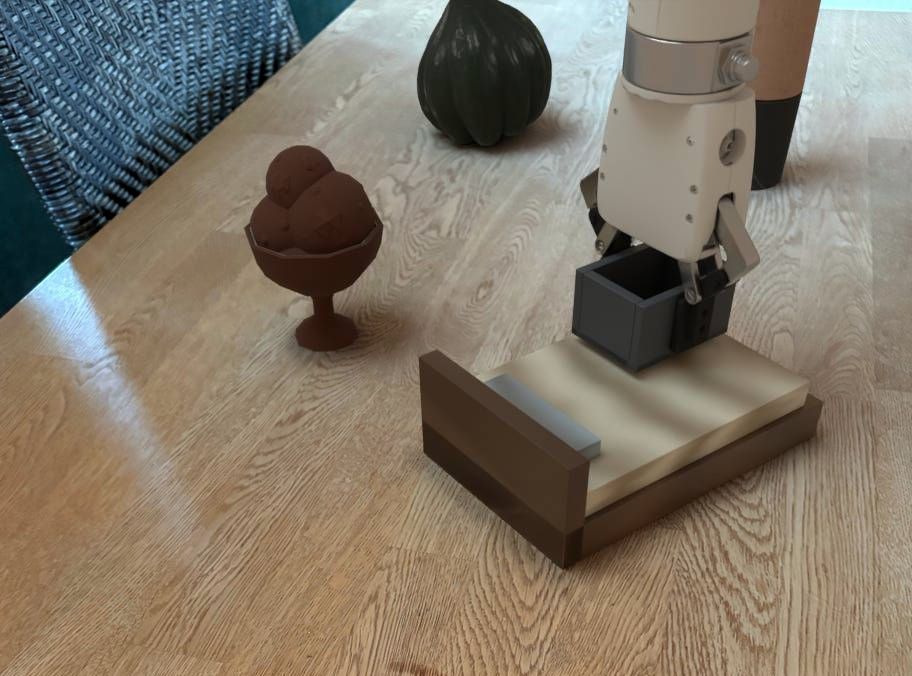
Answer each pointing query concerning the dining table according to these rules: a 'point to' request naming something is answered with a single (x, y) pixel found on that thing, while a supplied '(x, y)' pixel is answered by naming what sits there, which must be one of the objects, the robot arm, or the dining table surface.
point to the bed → (561, 470)
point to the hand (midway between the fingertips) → (650, 322)
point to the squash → (483, 72)
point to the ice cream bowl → (314, 239)
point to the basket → (636, 305)
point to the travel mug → (779, 80)
